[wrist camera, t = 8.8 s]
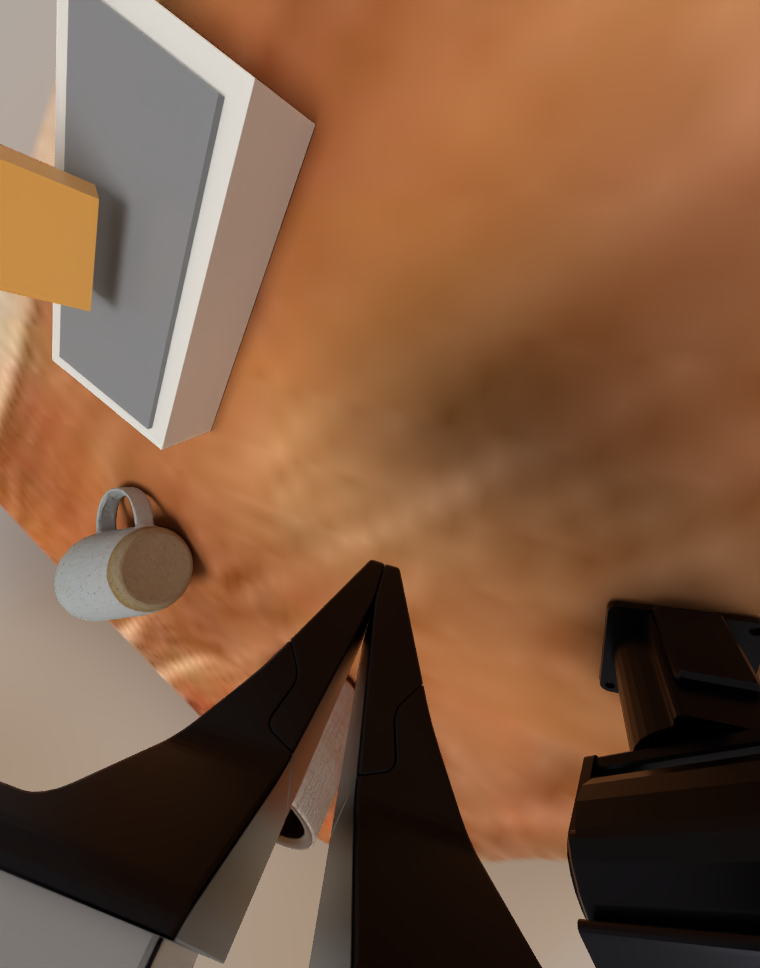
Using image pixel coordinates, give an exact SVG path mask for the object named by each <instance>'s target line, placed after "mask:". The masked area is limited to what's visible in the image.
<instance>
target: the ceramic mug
mask: <svg viewBox="0 0 760 968" xmlns="http://www.w3.org/2000/svg"><path fill="white" fill-rule="evenodd" d="M123 496H127V497H128V498H129V500H130V502H131V505H132V508H133V513H134V520H135V527H129V528H126V529H118V530H117V528H116V517H117V510H118V505H119V502H120V500H121V498H122V497H123ZM153 519H154V517H153V510H152V508H151V504H150V502H149V499H148V498H147V496H146V495H145V493H144V492H143V491H141V490H140V489H138V488H135V487H117V488H112V489H110V490H108V491H107V492H106V493H105V494H104V496H103V497H102V499H101V501H100V504H99V508H98V513H97V518H96V531H97V532H96V534H94V535H91V536H88V537H85V538H84V539H82V540H80V541H79V542H77V543H76V544H74V545H73V546H72V547H71V548H70V549H69V550H68V551H67V552H66V554H65V555H64V556H63V557H62V559H61V560H60V562H59V565H58V567H57V570H56V573H55V582H54V583H55V591H56V596H57V598H58V600H59V602H60V603H61V605H62V606H63V607H64V608H65V609H66V610H67V611H68V612H69V613H70V614H72V615H73V616H75V617H78V618H80V619H84V620H88V621H105V620H111V619H120V618H126V617H134V616H142V615H147V614H150V613H154V612H157V611H159V610H162V609H164V608H166V607H168V606H169V605H171V604H173V603H174V602H175V601H176V600H177V599H179V598H180V597H181V596H182V594H183V593H184V592H185V590H186V589H187V587H188V585H189V583H190V580H191V577H192V572H193V560H192V555H191V552H190V549H189V547H188V545H187V544H186V543H185V541H184V540H183V539H182V538H181V537H180V536H179V535H178V534H176V533H175V532H173V531H171V530H169V529H167V528H163V527H157V526H155V525H154V522H153Z"/></svg>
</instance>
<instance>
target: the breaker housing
mask: <svg viewBox="0 0 760 968" xmlns="http://www.w3.org/2000/svg"><path fill="white" fill-rule="evenodd" d="M314 127H315V124H314V123H313V122H312V121H310V120H309V119H308V118H306V117H305V116H304V115H303V114H301V113H300V112H299V111H297V110H296V109H295V108H294V107H292V106H291V105H290V104H288V103H287V102H286V101H284V100H283V99H282V98H281V97H279V96H278V95H277V94H275V93H274V92H273V91H272V90H270V89H269V88H268V87H266V86H265V85H264V84H263V83H261V82H260V81H259V80H257V79H256V78H255V77H254V76H252V75H251V74H250V73H248V72H247V71H246V70H245V69H243V68H242V67H241V66H239V65H238V64H237V63H236V62H234V61H233V60H232V59H230V58H229V57H228V56H227V55H225V54H224V53H223V52H221V51H220V50H219V49H218V48H216V47H215V46H214V45H212V44H211V43H210V42H209V41H207V40H206V39H205V38H203V37H202V36H201V35H200V34H198V33H197V32H196V31H194V30H193V29H192V28H191V27H189V26H188V25H187V24H185V23H184V22H183V21H182V20H180V19H179V18H178V17H176V16H175V15H174V14H173V13H171V12H170V11H169V10H167V9H166V8H165V7H164V6H162V5H161V4H160V3H158V2H157V1H156V0H57V32H56V110H55V168H57V169H60V170H62V171H64V172H67V173H69V174H71V175H74V176H76V177H78V178H81V179H83V180H85V181H88V182H90V183H92V184H95V186H96V190H97V194H98V197H99V207H98V220H97V233H96V247H95V260H94V273H93V286H92V300H91V312H90V311H86V310H81V309H77V308H73V307H69V306H65V305H60V304H56V303H53V342H52V360H53V361H54V362H56V363H57V364H58V365H59V366H60V367H62V368H63V369H64V370H65V371H67V372H68V373H69V374H70V375H71V376H73V377H74V378H75V379H76V380H77V381H79V382H80V383H81V384H82V385H84V386H85V387H86V388H87V389H88V390H90V391H91V392H92V393H93V394H94V395H96V396H97V397H98V398H99V399H100V400H102V401H103V402H104V403H105V404H107V405H108V406H109V407H110V408H111V409H113V410H114V411H115V412H116V413H117V414H119V415H120V416H121V417H122V418H124V419H125V420H126V421H127V422H128V423H130V424H131V425H132V426H133V427H134V428H136V429H137V430H138V431H139V432H140V433H142V434H143V435H144V436H145V437H147V438H148V439H149V440H150V441H151V442H153V443H154V444H155V445H156V446H157V447H159V448H160V449H161V450H163V449H166V448H168V447H171V446H174V445H176V444H179V443H181V442H184V441H186V440H189V439H191V438H194V437H196V436H199V435H201V434H204V433H206V432H209V431H211V429H212V426H213V423H214V420H215V417H216V414H217V411H218V408H219V405H220V402H221V399H222V396H223V393H224V391H225V388H226V385H227V382H228V379H229V376H230V373H231V370H232V367H233V364H234V361H235V358H236V355H237V353H238V350H239V347H240V344H241V341H242V338H243V335H244V332H245V329H246V326H247V323H248V320H249V317H250V315H251V312H252V309H253V306H254V303H255V300H256V297H257V294H258V291H259V288H260V285H261V282H262V279H263V277H264V274H265V271H266V268H267V265H268V262H269V259H270V256H271V253H272V250H273V247H274V244H275V241H276V239H277V236H278V233H279V230H280V227H281V224H282V221H283V218H284V215H285V212H286V209H287V206H288V203H289V201H290V198H291V195H292V192H293V189H294V186H295V183H296V180H297V177H298V174H299V171H300V168H301V165H302V162H303V160H304V157H305V154H306V151H307V148H308V145H309V142H310V139H311V136H312V133H313V130H314Z"/></svg>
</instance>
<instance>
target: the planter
mask: <svg viewBox="0 0 760 968" xmlns="http://www.w3.org/2000/svg"><path fill="white" fill-rule="evenodd" d="M354 692H355V688H354V686H353V685H352V684H351V682H350V681H349V680H348V679H347V678H346V680H345V683H344V685H343V687H342V690H341V692H340V694H339V697H338V699H337V701H336V704H335V706H334V708H333V711H332V713H331V715H330V718H329V720H328V722H327V725H326V727H325V729H324V731H323V734H322V736H321V738H320V741H319V743H318V745H317V748H316V750H315V752H314V755H313V757H312V759H311V762H310V764H309V766H308V769H307V771H306V773H305V776H304V778H303V780H302V783H301V785H300V787H299V790H298V792H297V794H296V797H295V799H294V801H293V804H292V806H291V808H290V811H289V813H288V815H287V817H286V818H285V822H284V825H283V827H282V829H281V832H280V834H279V836H278V839H277V841H276V843H277V844H280V845H282V846H285V847H288V848H292V849H297V850H305V849H309V848H311V847H312V846H313V845H314V843H315V841H316V838H317V836H318V834H319V831H320V829H321V827H322V824H323V822H324V820H325V817H326V815H327V813H328V810H329V808H330V806H331V803H332V801H333V799H334V796H335V794H336V792H337V789H338V787H339V783H340V777H341V771H342V765H343V759H344V753H345V747H346V741H347V735H348V729H349V723H350V717H351V711H352V705H353V699H354Z"/></svg>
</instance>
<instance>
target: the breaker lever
mask: <svg viewBox="0 0 760 968" xmlns="http://www.w3.org/2000/svg"><path fill="white" fill-rule="evenodd" d="M98 207H99V197H98V194H97V190H96V186H95V184H92V183H90V182H88V181H85V180H83V179H81V178H78V177H76V176H74V175H71V174H69V173H67V172H64V171H62V170H60V169H57V168H55V167H53V166H50V165H48V164H46V163H43V162H41V161H39V160H36V159H34V158H32V157H29V156H27V155H25V154H22V153H20V152H18V151H15V150H13V149H11V148H8V147H6V146H4V145H1V144H0V290H1V291H6V292H10V293H14V294H18V295H22V296H27V297H31V298H35V299H39V300H44V301H48V302H52V303H56V304H60V305H65V306H69V307H73V308H77V309H81V310H86V311H90V312H91V300H92V286H93V273H94V260H95V247H96V233H97V220H98Z"/></svg>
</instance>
